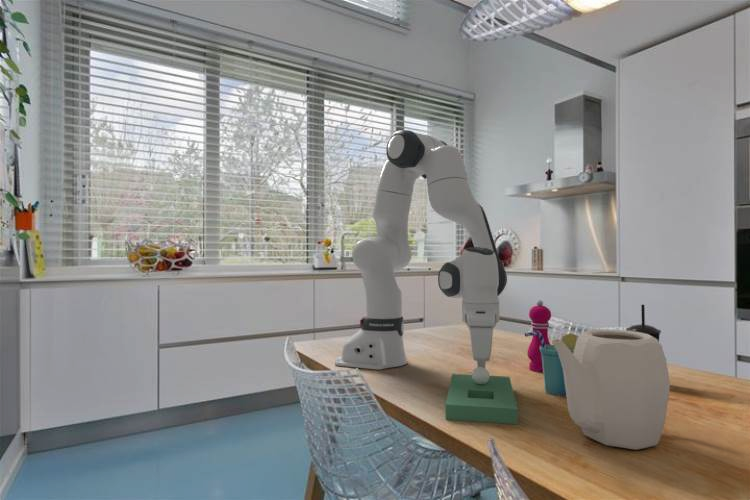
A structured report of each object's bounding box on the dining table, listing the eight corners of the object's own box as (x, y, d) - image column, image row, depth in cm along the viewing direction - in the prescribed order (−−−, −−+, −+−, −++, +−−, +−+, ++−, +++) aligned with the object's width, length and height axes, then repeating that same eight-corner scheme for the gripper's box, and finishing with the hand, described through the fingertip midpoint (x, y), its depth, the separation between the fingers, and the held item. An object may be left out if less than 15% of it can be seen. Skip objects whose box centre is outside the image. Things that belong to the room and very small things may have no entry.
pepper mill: (550, 366, 133) (549, 298, 133) (557, 373, 126) (556, 301, 126) (525, 366, 134) (524, 298, 134) (530, 372, 127) (529, 301, 127)
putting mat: (445, 419, 92) (445, 404, 92) (452, 385, 115) (452, 373, 115) (517, 424, 88) (517, 408, 88) (509, 388, 112) (509, 376, 112)
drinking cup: (664, 382, 116) (663, 304, 116) (658, 388, 110) (656, 307, 111) (631, 377, 121) (630, 302, 122) (623, 383, 116) (622, 305, 116)
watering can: (523, 434, 84) (522, 332, 84) (629, 415, 93) (628, 323, 93) (590, 471, 69) (588, 348, 69) (708, 444, 78) (706, 335, 78)
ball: (471, 376, 109) (472, 387, 105) (471, 362, 107) (471, 374, 103) (489, 377, 108) (489, 388, 104) (489, 363, 106) (489, 374, 103)
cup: (534, 399, 104) (533, 333, 104) (518, 389, 111) (517, 328, 111) (589, 395, 106) (588, 331, 106) (570, 386, 113) (569, 326, 114)
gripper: (467, 309, 120) (468, 361, 120) (466, 319, 100) (467, 382, 100) (492, 309, 119) (493, 362, 118) (495, 320, 99) (496, 383, 99)
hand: (481, 371), depth 109 cm, fingers closed
